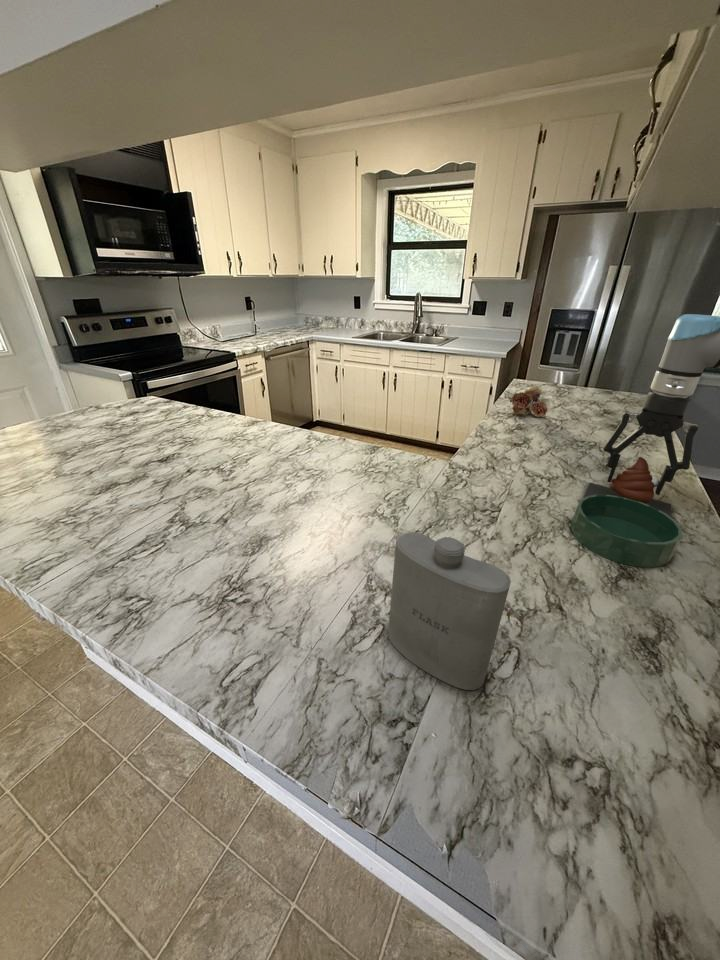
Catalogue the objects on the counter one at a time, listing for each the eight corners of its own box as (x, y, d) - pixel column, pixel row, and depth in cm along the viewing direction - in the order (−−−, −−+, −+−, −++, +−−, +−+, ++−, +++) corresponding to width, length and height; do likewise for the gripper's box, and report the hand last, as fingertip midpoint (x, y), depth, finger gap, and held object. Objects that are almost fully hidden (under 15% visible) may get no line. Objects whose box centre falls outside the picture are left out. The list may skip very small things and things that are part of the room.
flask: (377, 641, 59) (385, 530, 49) (399, 618, 63) (410, 511, 53) (472, 703, 50) (503, 584, 41) (490, 672, 55) (521, 557, 45)
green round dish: (671, 534, 86) (681, 512, 83) (671, 581, 72) (683, 557, 70) (578, 506, 95) (585, 486, 92) (563, 543, 81) (570, 521, 79)
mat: (670, 505, 97) (671, 503, 96) (670, 528, 88) (671, 526, 88) (589, 484, 106) (589, 482, 105) (581, 502, 97) (582, 500, 97)
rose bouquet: (495, 396, 155) (532, 393, 143) (515, 381, 163) (551, 377, 152) (502, 427, 159) (539, 426, 148) (521, 411, 168) (557, 408, 156)
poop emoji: (600, 484, 99) (612, 450, 95) (632, 484, 100) (645, 450, 96) (627, 505, 91) (641, 468, 86) (662, 504, 91) (678, 468, 87)
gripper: (609, 387, 87) (579, 478, 97) (738, 407, 76) (689, 507, 86) (613, 381, 92) (584, 468, 103) (734, 399, 81) (688, 494, 92)
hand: (632, 486), depth 94 cm, fingers closed on poop emoji, 9 cm apart
